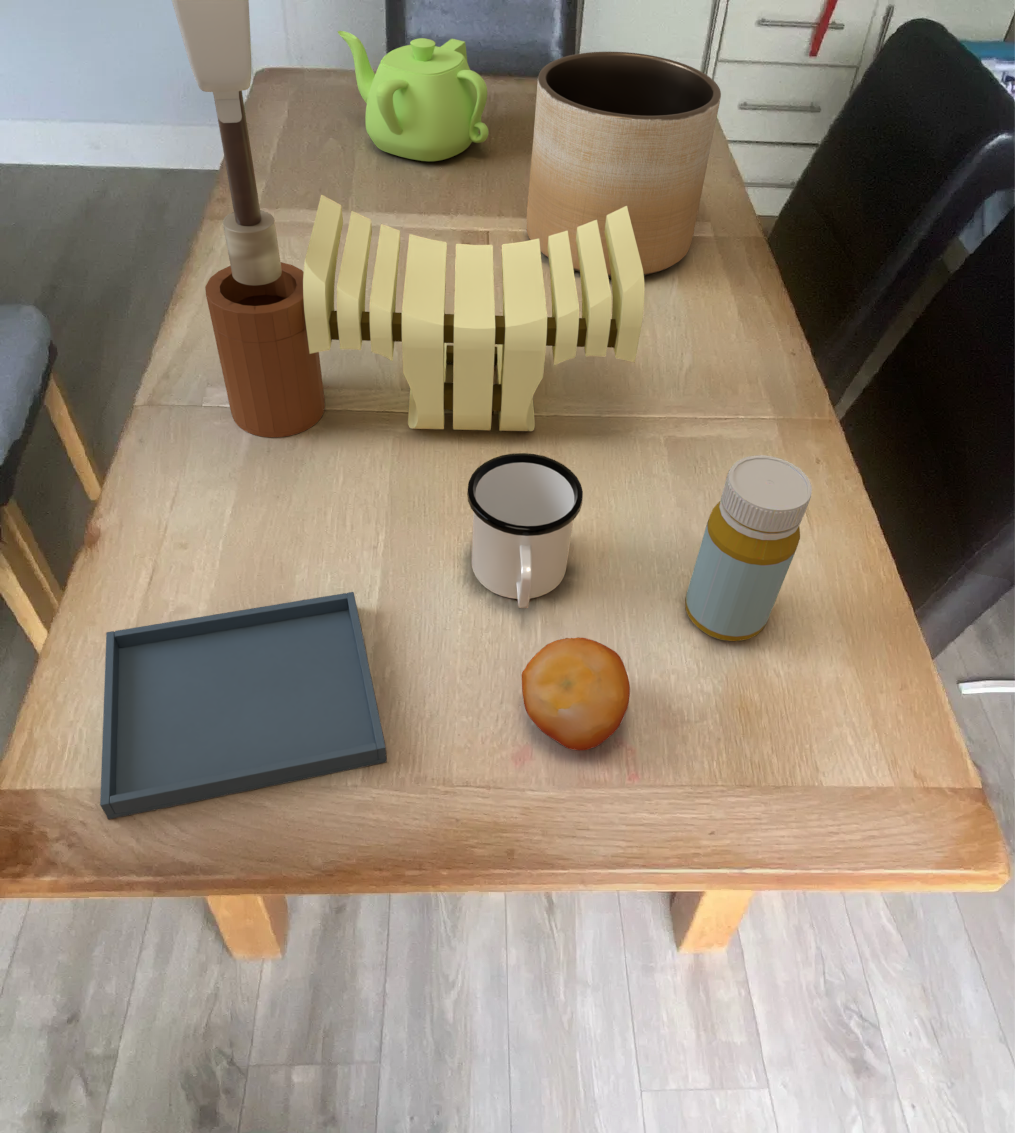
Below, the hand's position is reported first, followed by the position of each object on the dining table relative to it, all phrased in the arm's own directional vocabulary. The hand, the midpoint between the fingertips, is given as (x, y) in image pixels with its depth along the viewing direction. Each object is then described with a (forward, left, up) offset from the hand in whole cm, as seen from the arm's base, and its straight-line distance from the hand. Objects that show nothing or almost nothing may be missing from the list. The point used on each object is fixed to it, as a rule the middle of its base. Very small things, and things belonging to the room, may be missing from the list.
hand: (229, 110), depth 72 cm
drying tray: (-6, -36, -29) cm, 47 cm away
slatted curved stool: (+20, -2, -30) cm, 36 cm away
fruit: (+18, -43, -30) cm, 55 cm away
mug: (+18, -28, -30) cm, 45 cm away
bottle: (+34, -36, -30) cm, 58 cm away
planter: (+46, +28, -30) cm, 61 cm away
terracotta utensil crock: (0, 0, -29) cm, 29 cm away
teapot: (+27, +64, -30) cm, 75 cm away
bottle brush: (0, 0, -14) cm, 14 cm away
